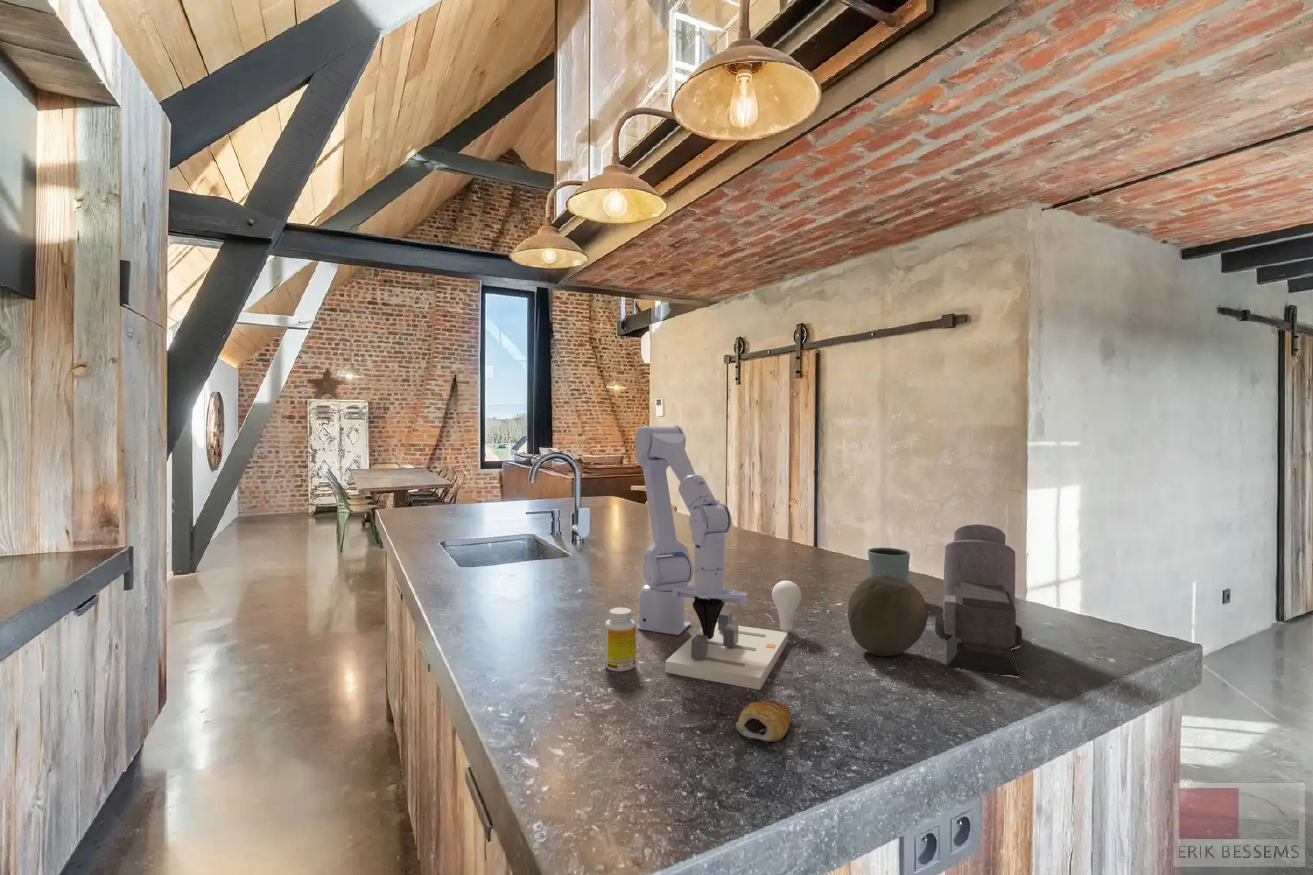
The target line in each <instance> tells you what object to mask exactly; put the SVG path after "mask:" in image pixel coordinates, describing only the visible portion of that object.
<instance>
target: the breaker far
mask: <svg viewBox="0 0 1313 875" xmlns="http://www.w3.org/2000/svg"><path fill="white" fill-rule="evenodd" d="M717 623H718V630H721V631H724V628H725V627H726V626H727V625H728V624H732V625H733V611H732V610H725V609H722V610H721V612H720V614H719V617H718V620H717Z"/></svg>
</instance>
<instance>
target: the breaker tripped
mask: <svg viewBox="0 0 1313 875" xmlns="http://www.w3.org/2000/svg"><path fill="white" fill-rule="evenodd" d="M738 626H739V624H733V623H732V624H728V625H727V626H726V627H725V628H724V631H723V646H727V647H734V646H735V645H736V644H737V643H738Z"/></svg>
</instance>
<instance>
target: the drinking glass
mask: <svg viewBox="0 0 1313 875" xmlns="http://www.w3.org/2000/svg"><path fill="white" fill-rule="evenodd" d="M867 555H868V557H867V558H868V565H869V566H868V567H869V574H870V575H869V577H873V576H876V575H889V576H894V577H897V578H901V579H904V580H906V581H907V582H909V570H910V567H909V564H910V560H911V559H910V558H911V553H910V551H909V550H905V549H901V548H894V547H873V548H869V549H867Z"/></svg>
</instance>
